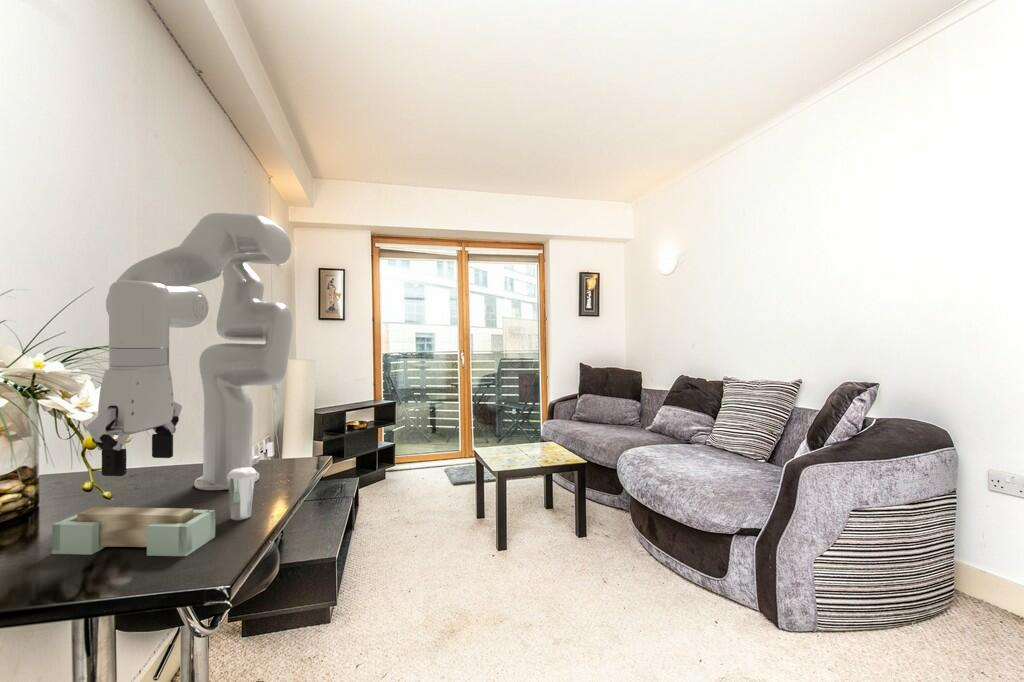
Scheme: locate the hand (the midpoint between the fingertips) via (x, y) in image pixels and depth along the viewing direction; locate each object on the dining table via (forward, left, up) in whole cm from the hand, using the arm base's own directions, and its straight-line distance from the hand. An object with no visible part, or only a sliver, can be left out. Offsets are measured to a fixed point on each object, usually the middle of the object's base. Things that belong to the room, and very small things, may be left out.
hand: (139, 465), depth 75 cm
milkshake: (-12, +10, -13) cm, 20 cm away
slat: (+1, 0, -12) cm, 12 cm away
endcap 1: (0, -7, -13) cm, 14 cm away
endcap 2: (0, +7, -13) cm, 14 cm away
